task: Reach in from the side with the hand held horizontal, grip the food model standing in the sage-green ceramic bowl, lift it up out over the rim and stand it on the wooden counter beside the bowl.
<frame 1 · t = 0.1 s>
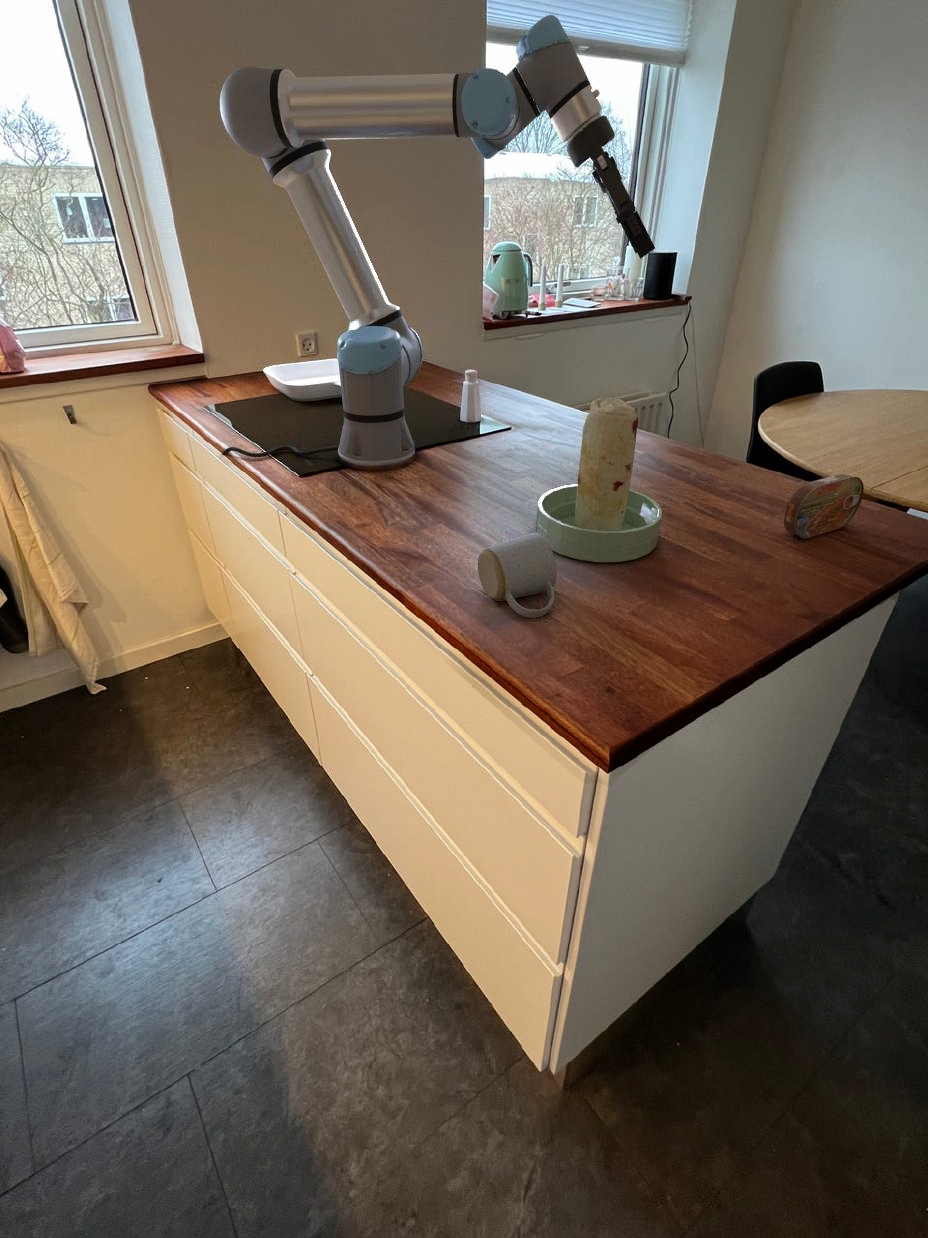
hand: (645, 251, 112), 36 cm above the worktop, tool tilted 35°, fingers open, 13 cm apart
bowl: (595, 536, 97), on the worktop
ceramic mug: (521, 599, 82), on the worktop
pan: (333, 394, 170), on the worktop
pepper shaker: (470, 420, 150), on the worktop
tin: (814, 531, 100), on the worktop
food model: (595, 535, 97), resting on bowl
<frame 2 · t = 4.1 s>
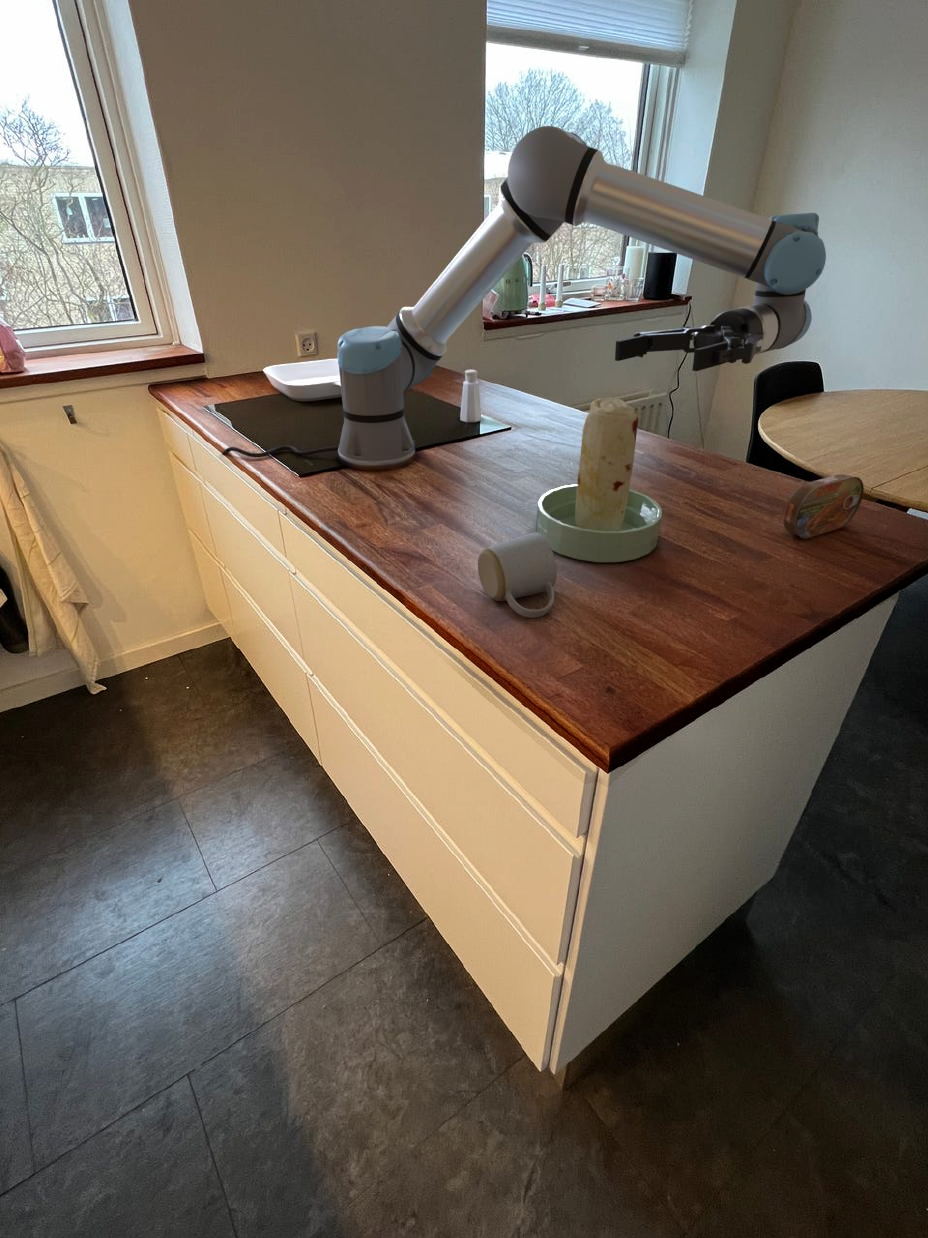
hand: (654, 355, 90), 25 cm above the worktop, tool horizontal, fingers open, 13 cm apart
nothing on the worktop moved.
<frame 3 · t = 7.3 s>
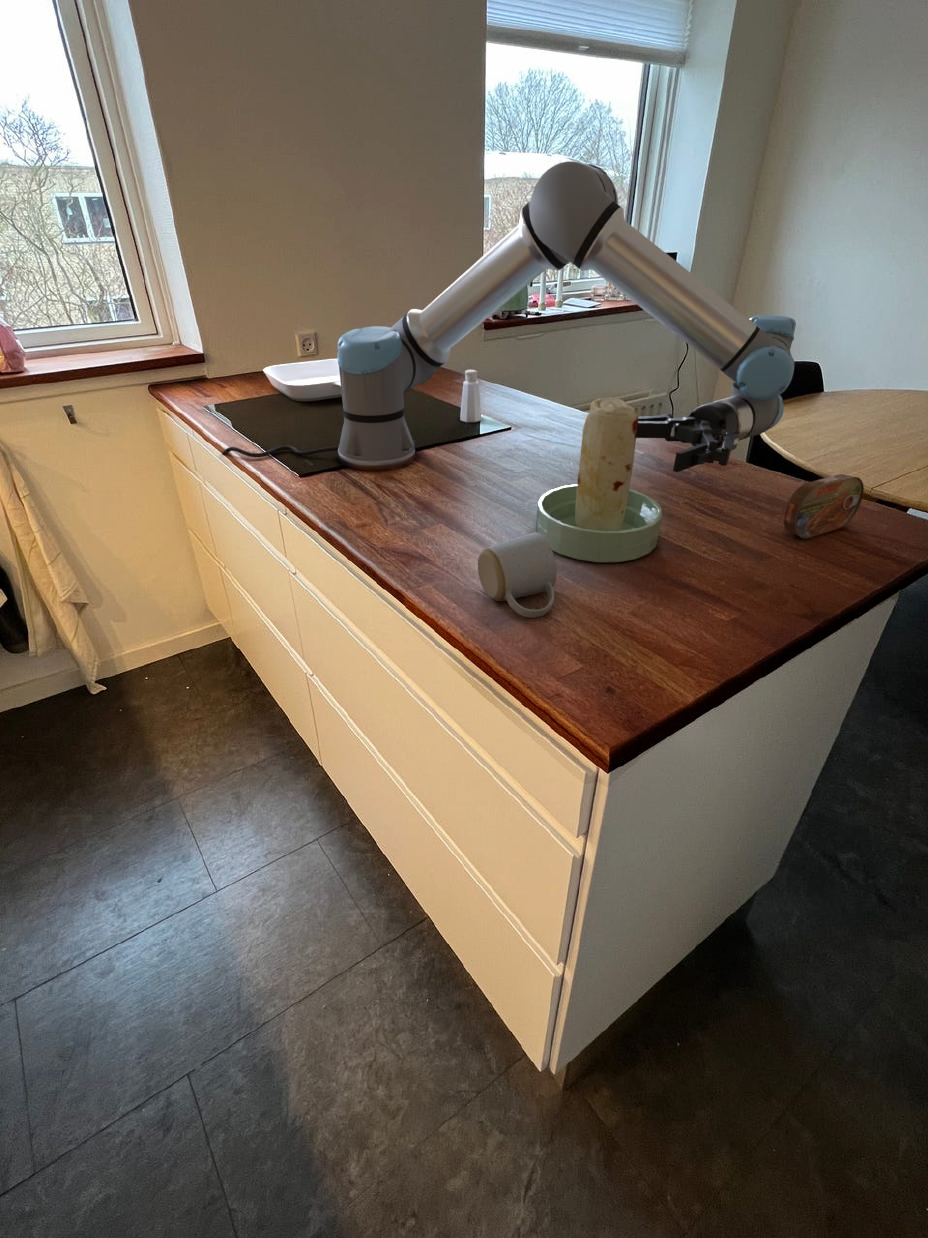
hand: (638, 450, 95), 12 cm above the worktop, tool horizontal, fingers open, 13 cm apart
nothing on the worktop moved.
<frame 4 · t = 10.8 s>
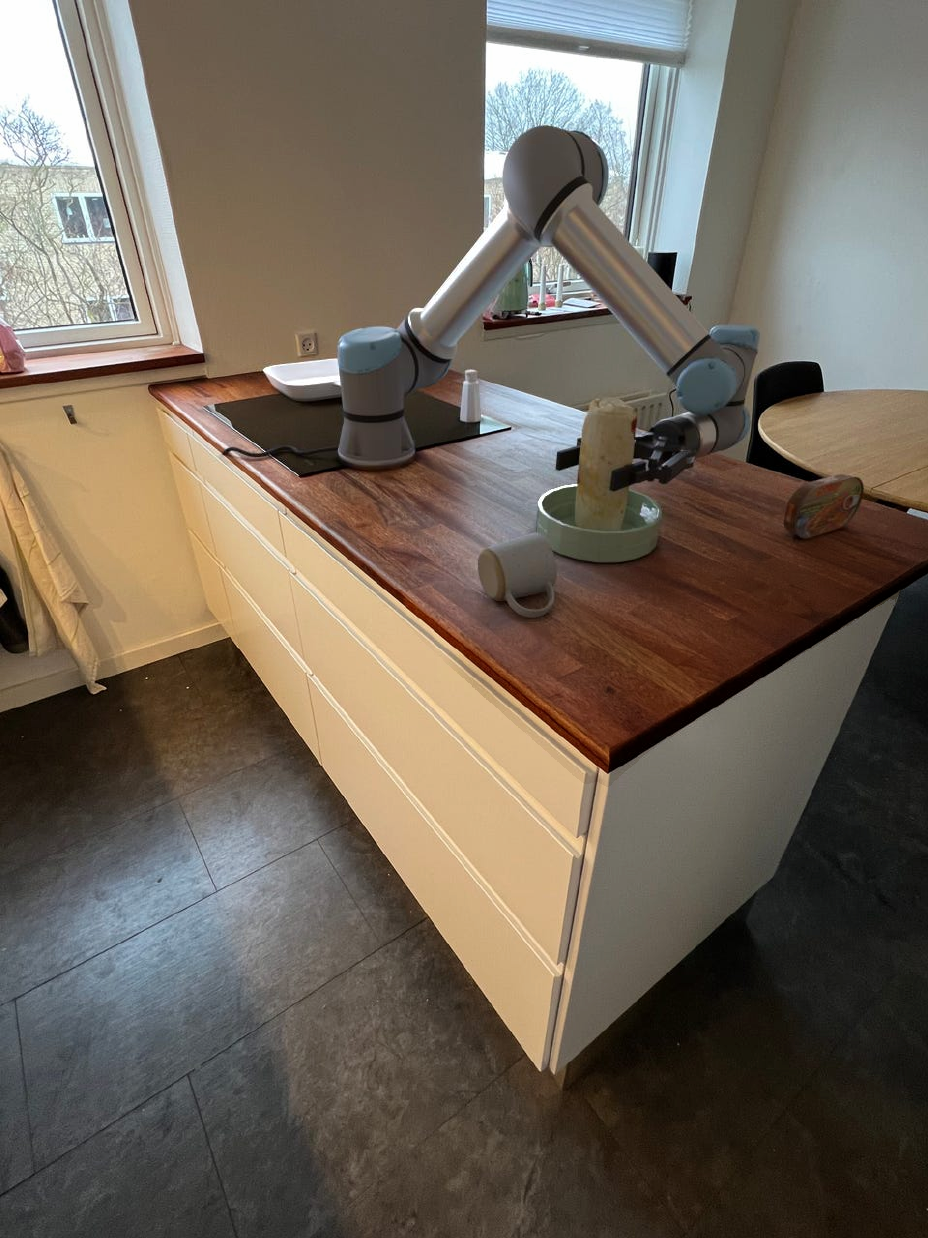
hand: (584, 470, 89), 12 cm above the worktop, tool horizontal, fingers closed on food model, 9 cm apart
food model: (595, 535, 97), resting on bowl, touching gripper
everything else where it was.
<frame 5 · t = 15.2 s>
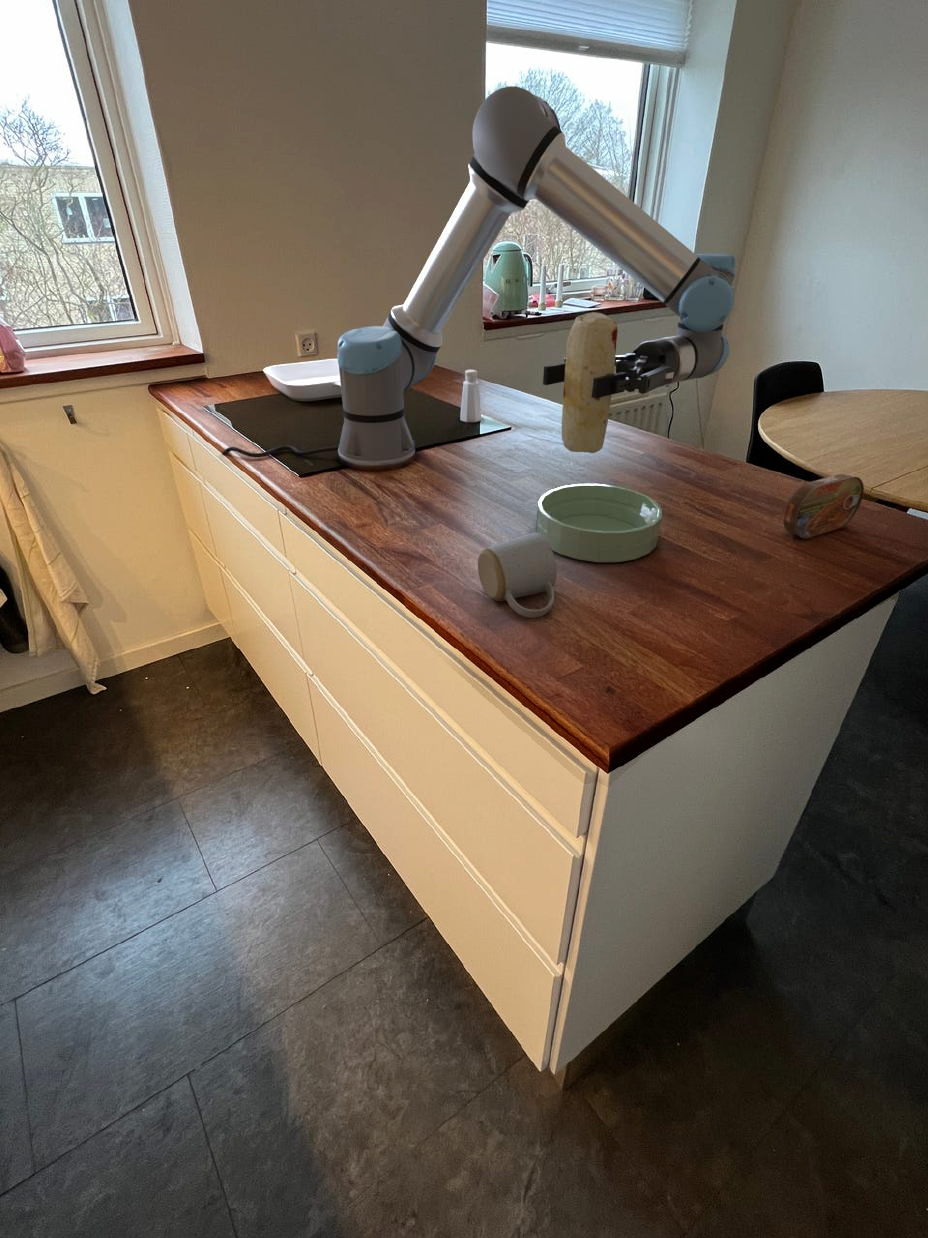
hand: (569, 381, 95), 20 cm above the worktop, tool horizontal, fingers closed on food model, 9 cm apart
food model: (581, 449, 104), point 9 cm above the worktop, touching gripper
everything else where it was.
when the fingers open (11 cm above the worktop, at t = 19.8 s): food model stays where it is, on the worktop.
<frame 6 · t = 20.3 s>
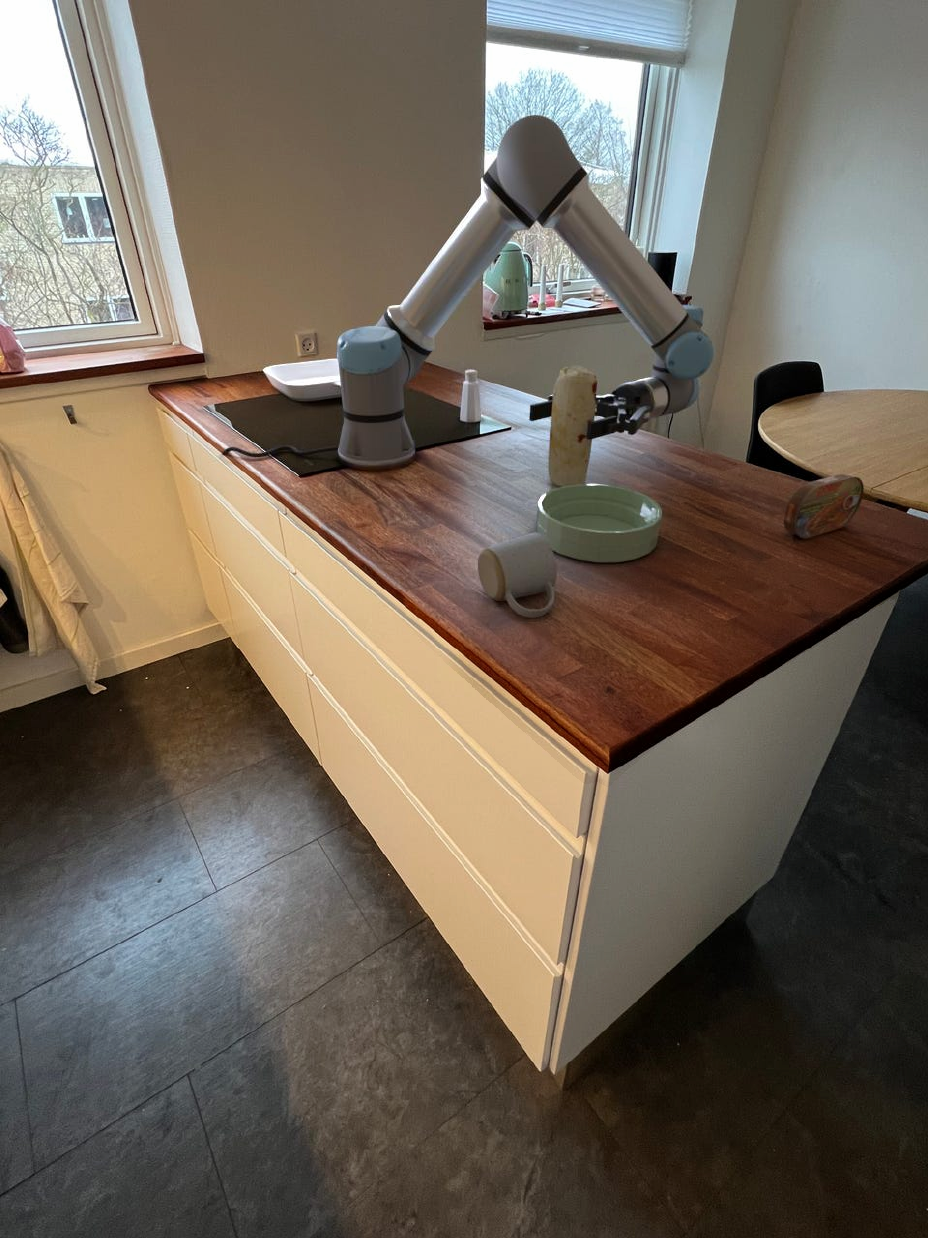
hand: (558, 421, 108), 12 cm above the worktop, tool horizontal, fingers open, 13 cm apart
food model: (565, 483, 116), on the worktop
everything else where it was.
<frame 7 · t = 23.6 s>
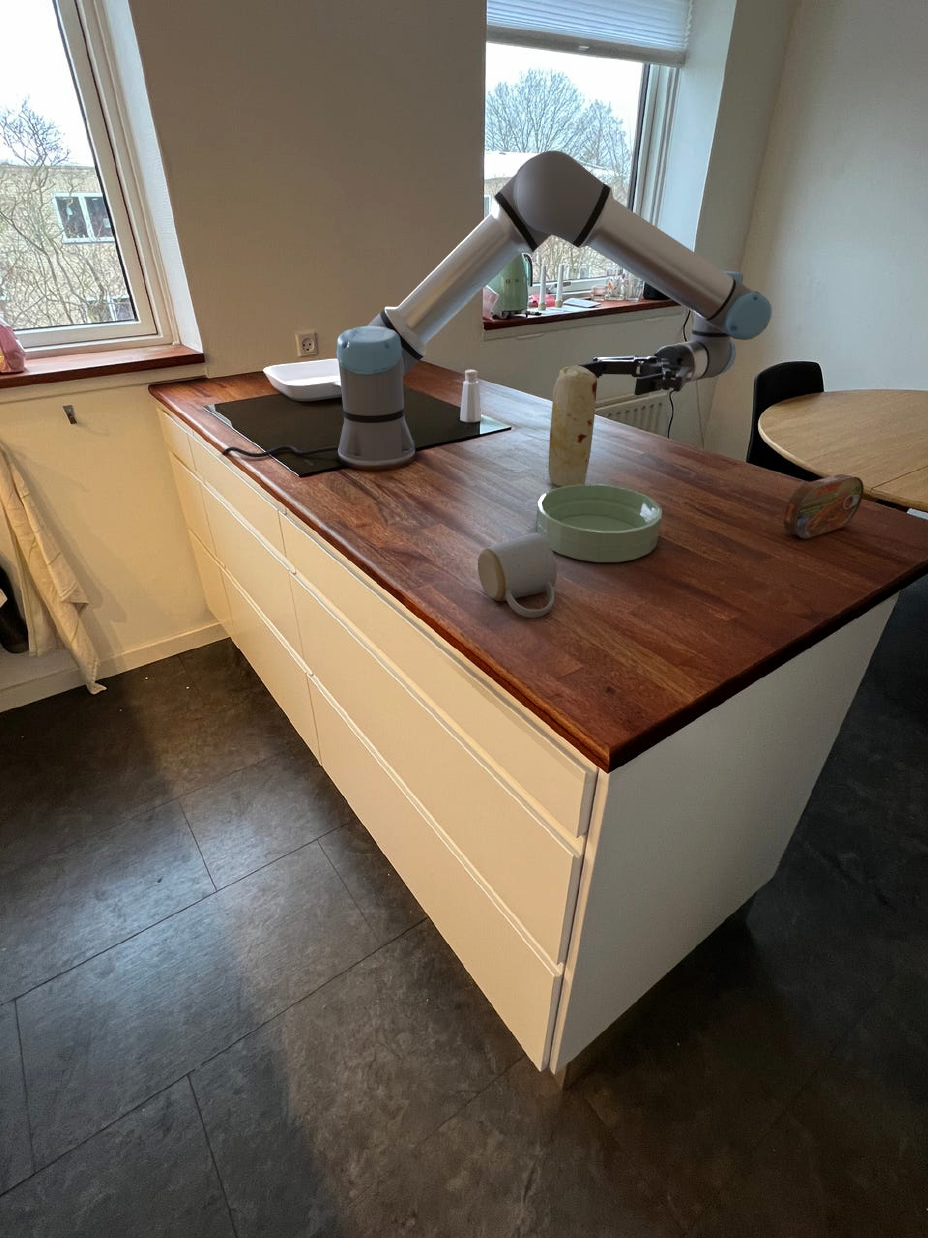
hand: (606, 379, 113), 17 cm above the worktop, tool horizontal, fingers open, 13 cm apart
nothing on the worktop moved.
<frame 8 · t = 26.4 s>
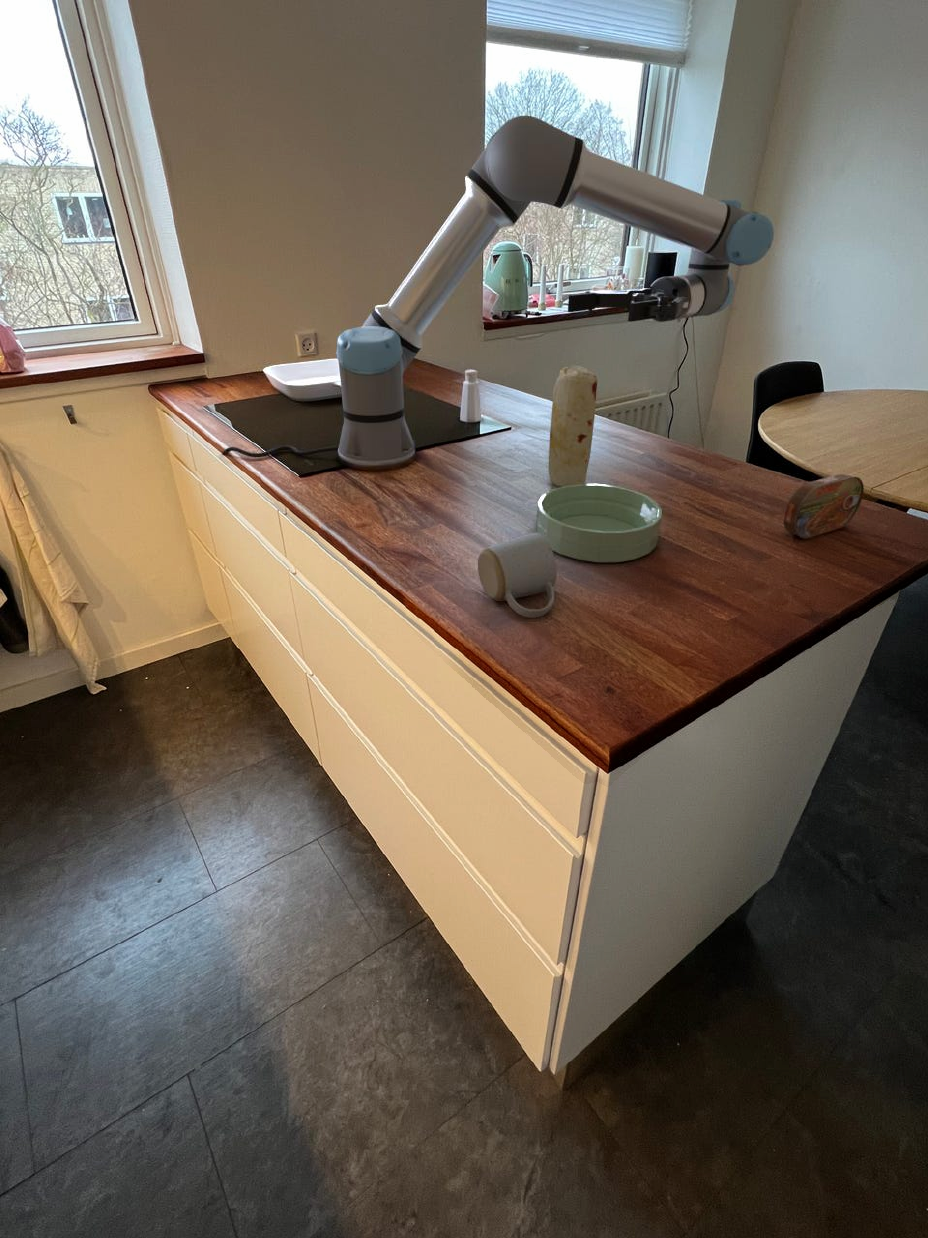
hand: (598, 307, 108), 28 cm above the worktop, tool horizontal, fingers open, 13 cm apart
nothing on the worktop moved.
at the end: food model inside the target area (0.0 cm from its centre), on the worktop; food model tilted 0°; the gripper is holding nothing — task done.
